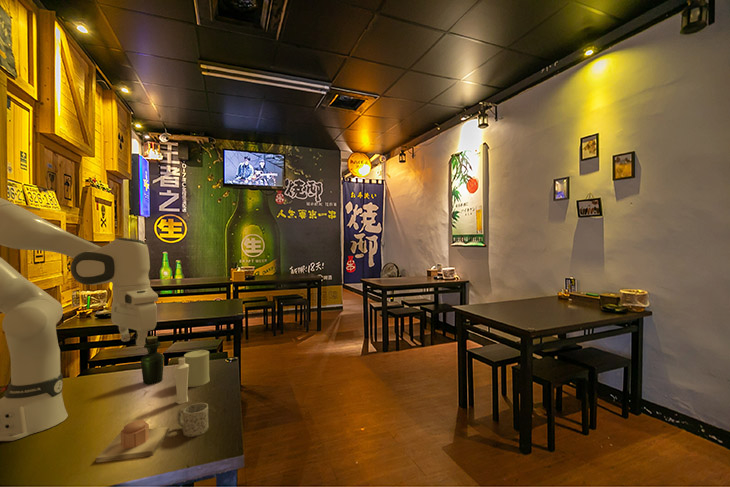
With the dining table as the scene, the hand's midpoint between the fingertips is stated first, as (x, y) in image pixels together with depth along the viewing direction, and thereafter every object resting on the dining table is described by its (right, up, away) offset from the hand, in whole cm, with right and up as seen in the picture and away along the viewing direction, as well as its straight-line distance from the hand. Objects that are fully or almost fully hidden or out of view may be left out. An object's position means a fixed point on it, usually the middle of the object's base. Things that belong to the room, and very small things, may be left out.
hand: (132, 343), depth 96 cm
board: (+3, -27, -4) cm, 27 cm away
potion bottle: (-20, -28, +41) cm, 53 cm away
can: (-1, -28, +39) cm, 48 cm away
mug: (+15, -27, +4) cm, 31 cm away
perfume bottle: (+2, -27, +23) cm, 36 cm away
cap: (+3, -26, -4) cm, 26 cm away
